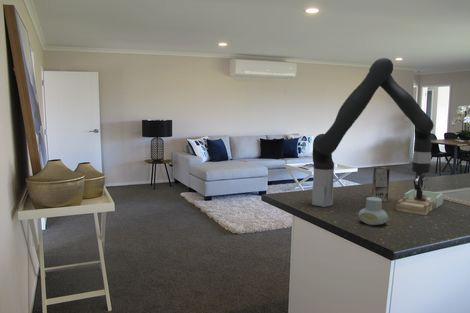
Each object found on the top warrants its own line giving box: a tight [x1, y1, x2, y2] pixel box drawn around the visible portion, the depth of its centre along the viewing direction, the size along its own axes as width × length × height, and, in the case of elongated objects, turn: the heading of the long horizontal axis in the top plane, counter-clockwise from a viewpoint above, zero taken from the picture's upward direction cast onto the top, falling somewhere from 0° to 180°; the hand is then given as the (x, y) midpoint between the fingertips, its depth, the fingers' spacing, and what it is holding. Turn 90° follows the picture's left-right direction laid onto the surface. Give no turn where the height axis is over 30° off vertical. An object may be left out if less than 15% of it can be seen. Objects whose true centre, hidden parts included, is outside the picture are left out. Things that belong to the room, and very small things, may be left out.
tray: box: [403, 188, 444, 210], centre depth 181 cm, size 13×14×5 cm
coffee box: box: [371, 166, 391, 203], centre depth 188 cm, size 9×6×16 cm
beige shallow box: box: [395, 196, 435, 216], centre depth 170 cm, size 14×12×4 cm
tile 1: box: [414, 194, 427, 201], centre depth 177 cm, size 5×5×2 cm
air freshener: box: [358, 196, 389, 226], centre depth 149 cm, size 11×8×10 cm
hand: (419, 198), depth 174 cm, fingers closed
